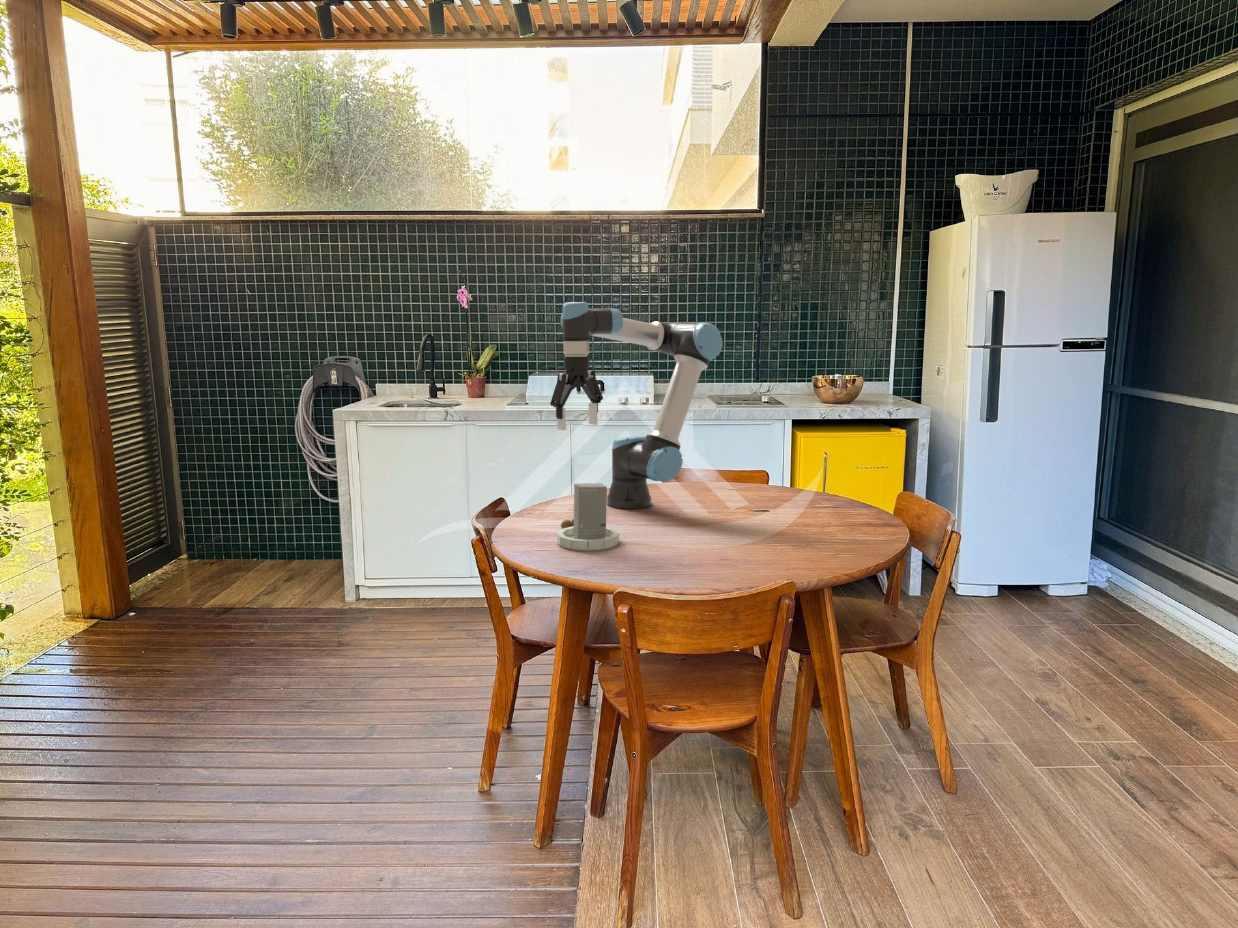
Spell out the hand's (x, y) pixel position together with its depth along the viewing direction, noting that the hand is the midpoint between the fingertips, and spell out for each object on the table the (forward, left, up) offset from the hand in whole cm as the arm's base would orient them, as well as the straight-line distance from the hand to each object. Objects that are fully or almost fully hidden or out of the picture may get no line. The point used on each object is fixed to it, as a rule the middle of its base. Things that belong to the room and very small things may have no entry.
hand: (577, 427), depth 249 cm
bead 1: (+8, +3, -30) cm, 31 cm away
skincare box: (+11, +16, -30) cm, 35 cm away
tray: (+12, +16, -30) cm, 36 cm away
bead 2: (+4, +3, -30) cm, 31 cm away
